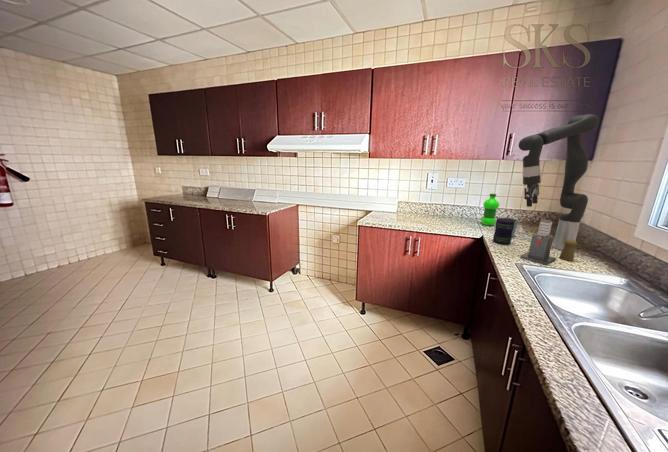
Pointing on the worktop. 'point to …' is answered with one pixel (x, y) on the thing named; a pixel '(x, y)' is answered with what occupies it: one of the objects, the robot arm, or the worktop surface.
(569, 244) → the cork
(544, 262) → the stand base
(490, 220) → the plastic bottle
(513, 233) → the drinking glass
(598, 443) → the worktop surface
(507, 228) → the storage jar
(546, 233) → the column
